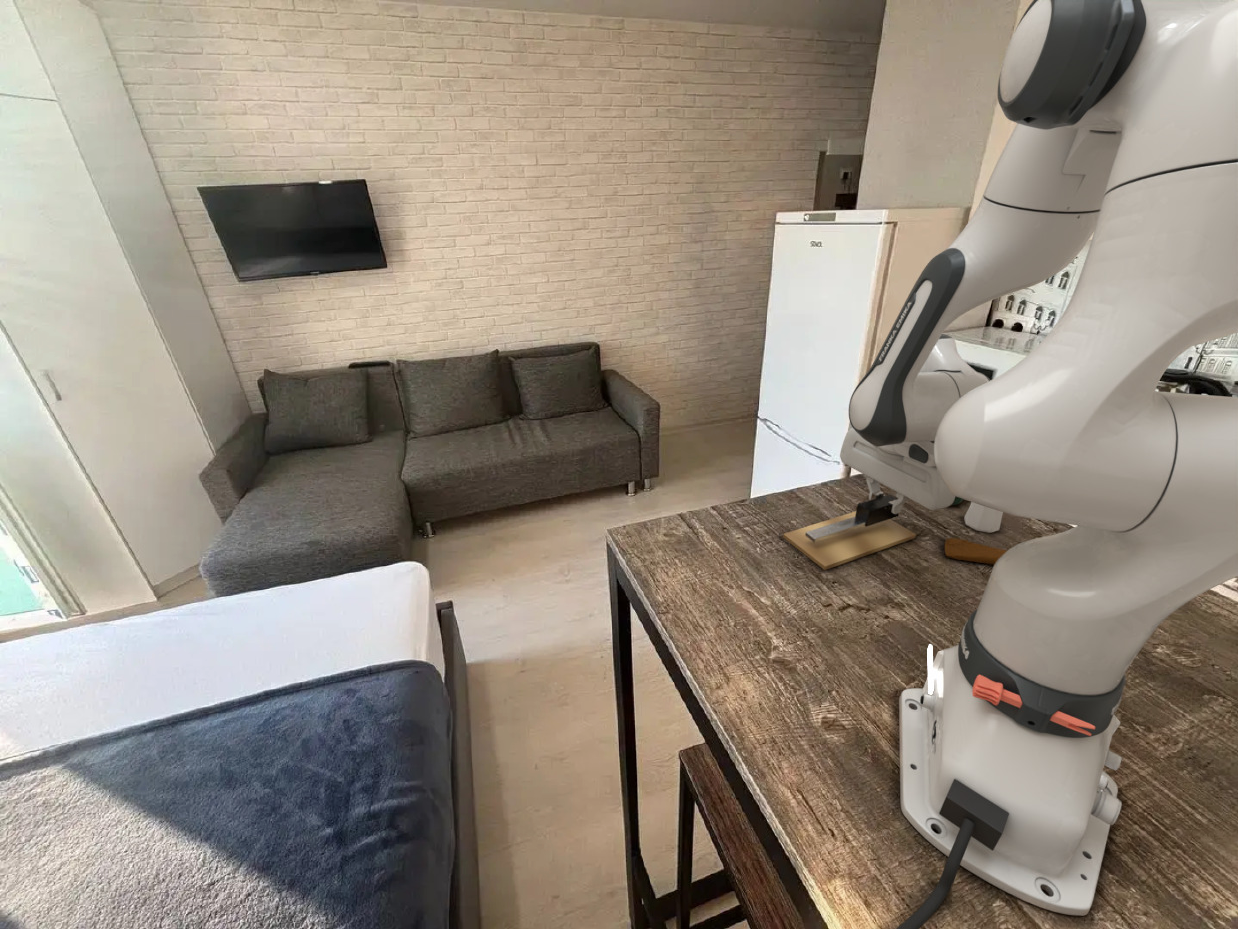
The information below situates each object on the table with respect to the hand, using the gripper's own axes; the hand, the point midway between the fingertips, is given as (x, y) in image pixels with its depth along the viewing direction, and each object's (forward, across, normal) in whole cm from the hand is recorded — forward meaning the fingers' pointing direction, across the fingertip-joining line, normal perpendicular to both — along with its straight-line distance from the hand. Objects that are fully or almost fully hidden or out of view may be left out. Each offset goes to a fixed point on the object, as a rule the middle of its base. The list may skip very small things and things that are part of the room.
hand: (884, 506), depth 89 cm
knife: (+2, 0, -7) cm, 7 cm away
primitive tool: (+4, +17, +10) cm, 20 cm away
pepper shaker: (+5, +7, +16) cm, 19 cm away
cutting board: (+4, 0, -7) cm, 9 cm away
